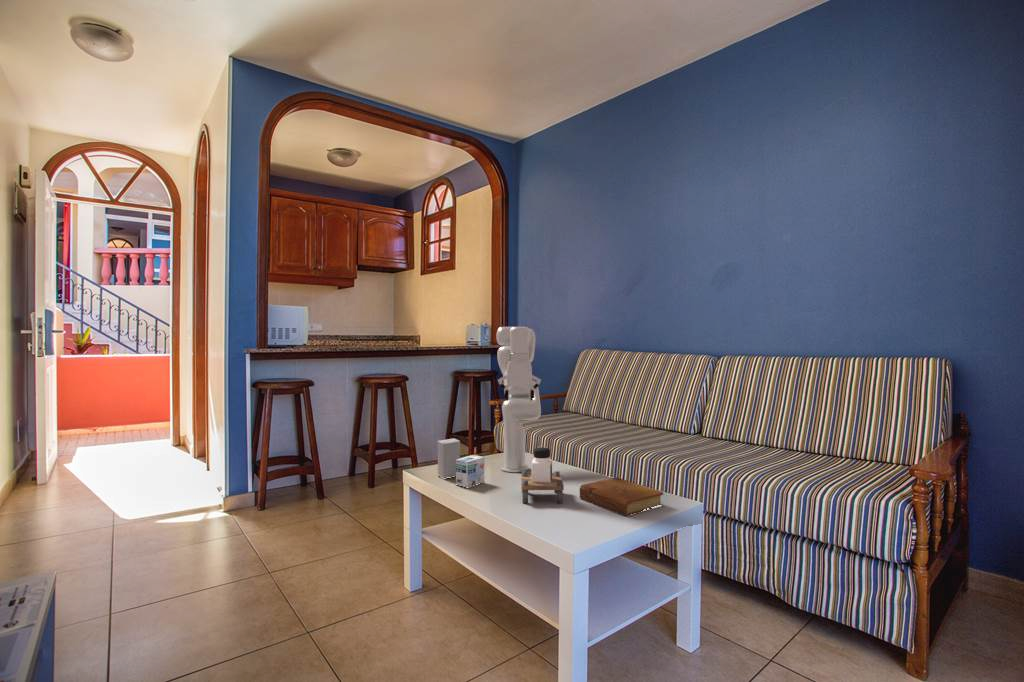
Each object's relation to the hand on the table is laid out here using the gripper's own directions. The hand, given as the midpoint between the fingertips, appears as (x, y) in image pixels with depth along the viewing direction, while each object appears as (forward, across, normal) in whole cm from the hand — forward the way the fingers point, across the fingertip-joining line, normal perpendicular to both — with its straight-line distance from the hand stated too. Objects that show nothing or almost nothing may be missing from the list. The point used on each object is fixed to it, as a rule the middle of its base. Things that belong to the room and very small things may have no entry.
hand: (519, 400), depth 211 cm
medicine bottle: (+28, +8, -16) cm, 33 cm away
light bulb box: (+35, -20, +2) cm, 40 cm away
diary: (+35, +36, -22) cm, 55 cm away
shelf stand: (+34, +8, -16) cm, 39 cm away
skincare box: (+34, -30, +13) cm, 48 cm away
